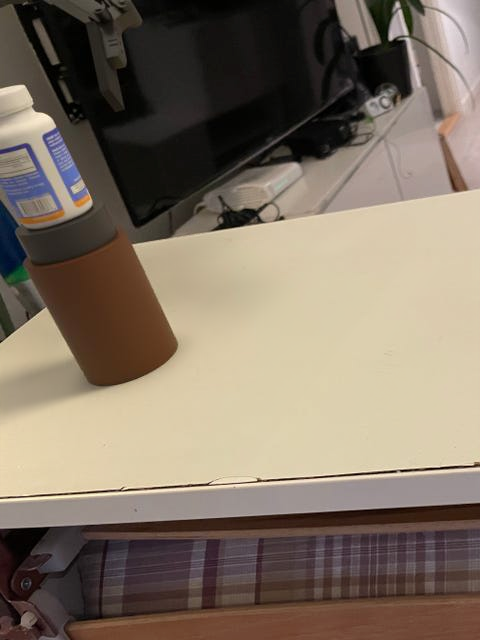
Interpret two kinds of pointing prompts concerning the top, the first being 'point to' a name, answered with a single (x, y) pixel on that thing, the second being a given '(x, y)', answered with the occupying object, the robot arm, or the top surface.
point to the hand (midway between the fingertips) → (25, 123)
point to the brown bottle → (99, 296)
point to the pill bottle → (37, 165)
